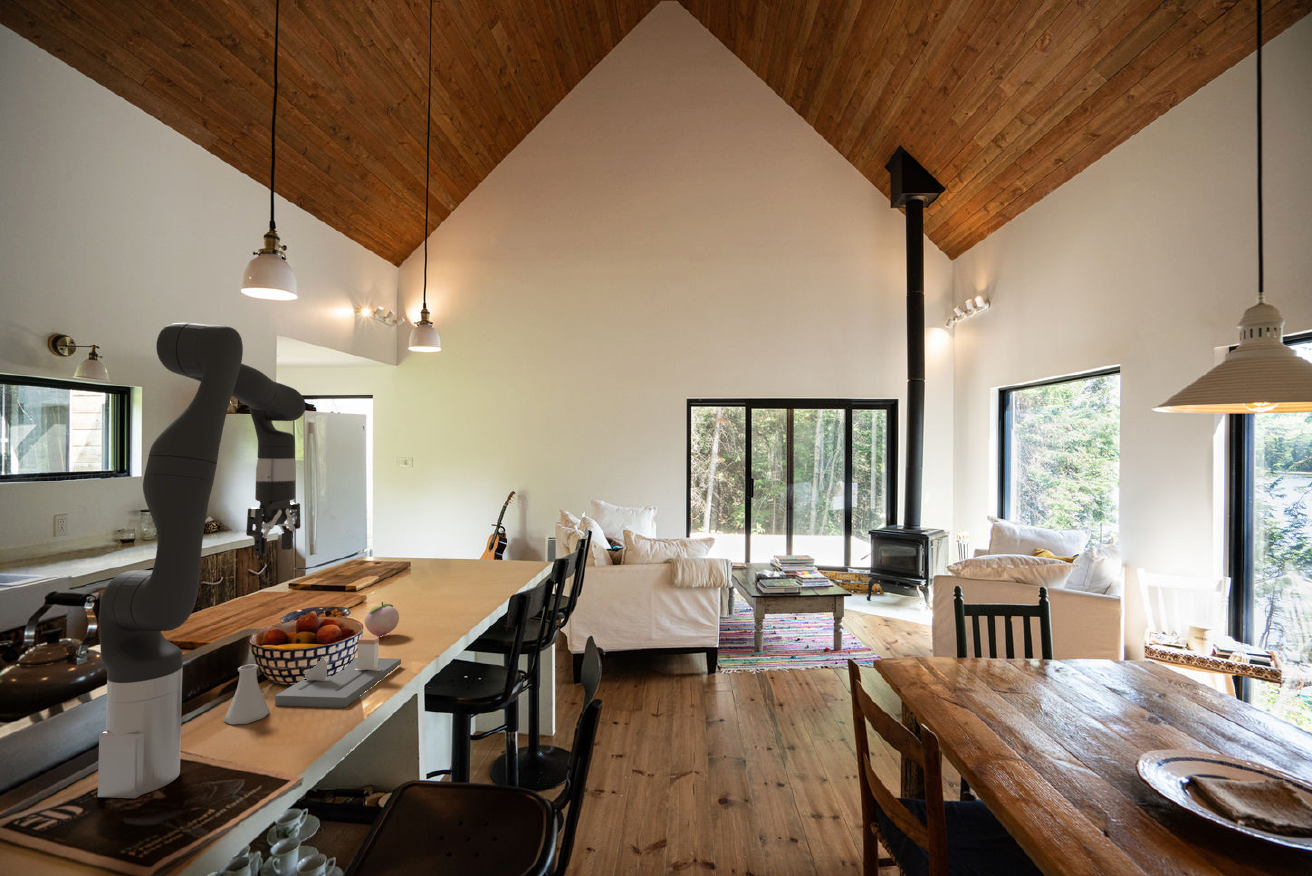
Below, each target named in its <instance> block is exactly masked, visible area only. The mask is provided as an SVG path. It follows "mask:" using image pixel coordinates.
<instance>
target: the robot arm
mask: <svg viewBox="0 0 1312 876" xmlns="http://www.w3.org/2000/svg"><path fill="white" fill-rule="evenodd" d="M155 345H156V354H157V358H158V359H159V361H160V363H161V364H162V365H163V367H164V368H165V369H167V370H168V371H169V372H171V373H174V374H175V375H180V376H183V377H186V378H190V379H193V380H195V381H198V382H200V383H199V386H198V389H197V391H196V394H195V396H194V398H193V399H192V401H191V402H190V403H189V405H187V406H186V407H187V408H185V409H184V410H183V411H182V412H181V414H180V415H178V416H177V418H175V419H174V420H173V421H172V422H171V423H169V425H168V426H167V427H166V428H165V429H164V430H163V431H162V432H161V433H160V434H159V435H158V437H157V438H156V439H155V440H154V441H153V443H152V445H151V447H150V449H149V452H148V458H147V462H146V466H145V470H144V475H143V481H142V491H143V497H144V501H145V503H146V505H147V508H148V511H149V514H150V516H151V519H152V522H153V524H154V527H155V530H156V537H157V538H156V539H157V541H156V542H157V543H156V554H155V559H154V565H153V568H152V569H150V570H149V569H134V570H133V569H132V570H127V571H123V572H122V573H119V574H117V575H116V576H115V577H113V578H112V580H111V581H110V582H108V584H107V585H106V587H105V588H104V591H103V592H102V596H101V599H100V604H99V615H98V617H99V618H98V620H99V641H100V642H99V645H100V646H99V647H100V658H101V661H102V663H103V665H104V666H105V668H106V673H107V674H106V678H107V679H106V681H107V682H106V706H105V707H106V708H105V711H106V712H105V731H102V732H101V733H99V736H98V739H99V740H98V765H97V766H98V767H97V768H98V769H97V770H98V772H97V775H98V776H97V798H115V799H116V798H117V799H137V798H138V797H140V796H142V795H144V794H148V793H150V792H154V791H157V790H159V789H161V788H163V787H165V786H168V785H170V783H171V784H172V782H174V781H175V780H176V779H177V778H178V777H179V776H180V773H181V748H182V747H181V745H182V744H181V742H182V740H181V739H182V737H181V736H182V735H181V734H182V733H181V732H182V700H183V699H182V695H183V694H182V693H183V661H184V655H183V654H184V653H183V651H182V649H181V648H180V647H179V646H177V645H175V644H173V643H172V642H170V641H169V639H167V638H166V637H165V636H164V635H163V633H162V632H169V631H173V630H176V629H178V628H179V627H182V625H184V624H185V623H186V622H187V620H188V619H189V618H190V617H191V615H192V612H193V611H194V608H195V606H196V604H197V600H198V596H199V595H198V594H199V588H200V578H201V577H200V576H201V564H202V563H201V562H202V553H203V552H202V549H203V540H204V533H205V526H206V521H207V514H208V507H209V502H210V498H211V494H212V491H213V486H214V481H215V476H216V470H217V466H218V465H217V464H218V459H219V453H220V448H221V447H220V445H221V441H222V435H223V431H224V430H223V429H224V425H225V421H226V417H227V413H228V410H229V407H230V403H231V399H232V397H233V398H234V399H236V400H238V401H239V402H241V403H243V404H244V405H245V406H247V407H248V409H249V412H250V416H251V418H252V422H253V425H254V429H255V433H256V437H257V462H256V467H255V494H254V495H255V496H254V497H255V498H254V499H255V501H257V502H259V507H248V509H247V518H246V519H247V520H246V535H245V536H247V537H252V538H253V539H254V543H253V545H254V546H253V547H254V549H253V551H254V555H255V556H256V557H260V556H261V557H263V556H267V554H268V534H270V533H269V532H270V531H271V530H273V529H274V527H276V526H278V527H279V528H280V530H281V532H282V533H281V545H280V546H281V549H282V550H286V551H287V550H293V547H294V533H295V532H296V530H299V529H300V528H301V527H302V526H301V524H302V523H301V504H300V503H299V502H291V501H293V500H295V498H296V473H297V470H296V469H297V468H296V462H295V461H296V459H295V458H296V456H295V454H296V453H295V451H296V449H295V448H296V438H295V436H294V435H293V434H292V433H291V432H286V431H282V430H279V429H276V427H275V425H274V424H273V422H292V421H293V422H294V421H297V420H298V419H300V418H301V417H302V416H304V413H305V412H306V402H305V399H304V397H303V395H302V394H301V393H300V392H299V391H298V390H297V389H295V388H293V387H291V386H288V385H286V384H283V383H279V382H277V381H274V380H272V378H270V377H268V376H267V375H266V374H264V373H263V372H262V371H260V370H258V369H257V368H254V367H252V366H250V365H247V364H244V363H242V361H243V354H244V353H243V351H244V348H243V347H244V345H243V341H242V337H241V334H240V333H239V332H238V331H237V329H236V328H234V327H231V326H227V325H220V324H219V325H218V324H206V323H194V322H174V323H173V322H172V323H170V324H167V325H166V326H164V327H163V328H162V329H161V330H160V332H159V333H158V336H157V339H156V344H155ZM254 526H255V529H253V528H254Z"/></svg>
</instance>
